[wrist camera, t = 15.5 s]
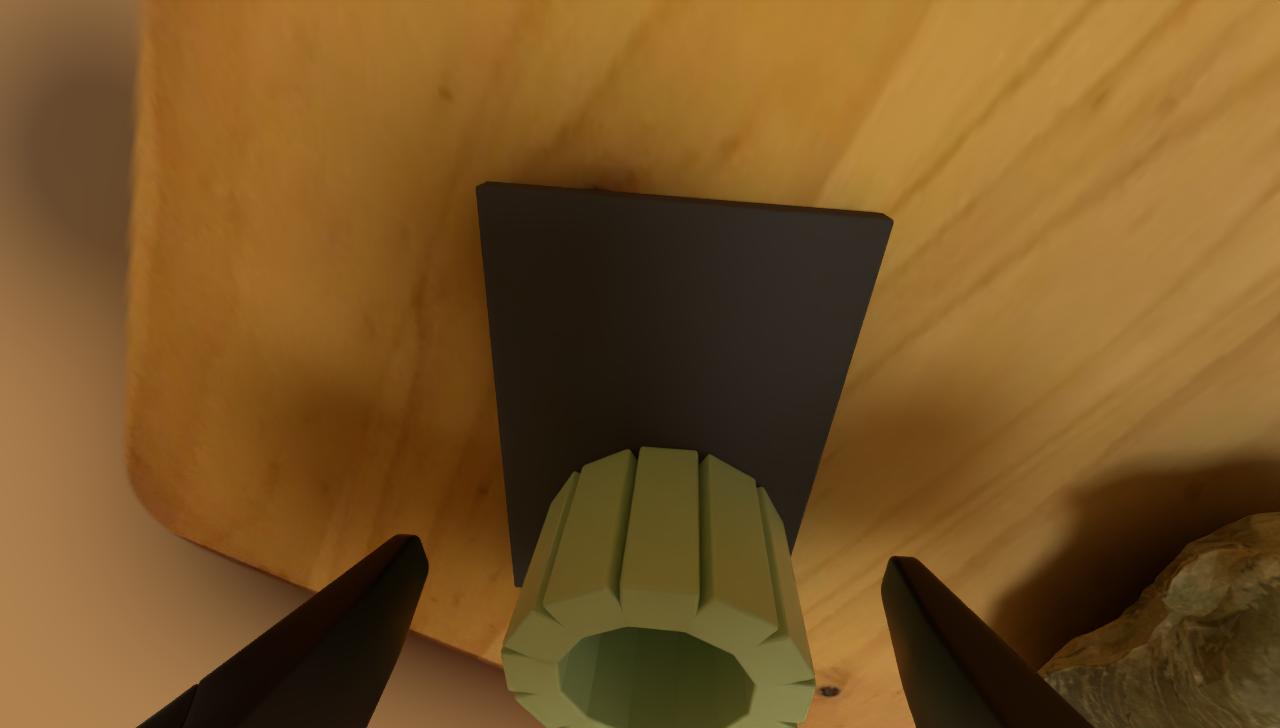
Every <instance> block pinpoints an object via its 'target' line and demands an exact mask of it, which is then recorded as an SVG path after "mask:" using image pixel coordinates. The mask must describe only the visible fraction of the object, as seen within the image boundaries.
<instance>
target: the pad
mask: <svg viewBox="0 0 1280 728" xmlns="http://www.w3.org/2000/svg"><path fill="white" fill-rule="evenodd" d="M476 195H477V206H478V216H479V226H480V236H481V246H482V257H483V267H484V277H485V287H486V297H487V307H488V318H489V328H490V338H491V348H492V358H493V369H494V379H495V389H496V399H497V409H498V420H499V430H500V440H501V450H502V460H503V471H504V481H505V491H506V501H507V511H508V522H509V532H510V542H511V552H512V562H513V573H514V583H515V586H516V587H521V588H522V586H523V583H524V580H525V577H526V575H527V572H528V569H529V566H530V563H531V560H532V557H533V554H534V551H535V548H536V545H537V543H538V540H539V537H540V534H541V531H542V528H543V525H544V522H545V519H546V516H547V514H548V511H549V508H550V505H551V503H552V501H553V500H554V498H555V497H556V496H557V494H558V493H559V491H560V490H561V489H562V487H563V486H564V485H565V483H566V482H567V480H568V479H569V478H570V476H571V475H572V474H573V472H575V471H576V472H578V473H580V474H581V470H582V467H583V466H585V465H586V464H589V463H592V462H594V461H597V460H600V459H602V458H605V457H607V456H610V455H613V454H615V453H618V452H620V451H623V450H626V449H630V450H631V451H632V453H633V454H634V456H635V457H636V459H637V460H638V458H639V451H640V448H641V447H643V446H644V447H658V448H671V449H684V450H695V451H697V452H698V465H699V464H700V463H701V462H702V461H703V460H704V459H705V457H706V456H707V455H708V454H711V455H713V456H714V457H716V458H718V459H720V460H722V461H723V462H725V463H727V464H729V465H731V466H732V467H734V468H736V469H738V470H740V471H741V472H743V473H745V474H747V475H749V476H751V477H752V478H754V479H755V481H756V488H758V487H763V488H764V489H765V491H766V493H767V494H768V496H769V498H770V500H771V502H772V503H773V505H774V507H775V509H776V511H777V512H778V514H779V516H780V518H781V520H782V521H783V524H784V529H785V534H786V538H787V543H788V548H789V553H790V557H791V554H792V551H793V547H794V544H795V541H796V538H797V534H798V531H799V528H800V525H801V521H802V518H803V515H804V512H805V508H806V505H807V502H808V499H809V496H810V492H811V489H812V486H813V483H814V479H815V476H816V473H817V470H818V466H819V463H820V460H821V457H822V453H823V450H824V447H825V444H826V440H827V437H828V434H829V431H830V427H831V424H832V421H833V418H834V414H835V411H836V408H837V405H838V401H839V398H840V395H841V392H842V389H843V385H844V382H845V379H846V376H847V372H848V369H849V366H850V363H851V359H852V356H853V353H854V350H855V346H856V343H857V340H858V337H859V333H860V330H861V327H862V324H863V320H864V317H865V314H866V311H867V307H868V304H869V301H870V298H871V294H872V291H873V288H874V285H875V282H876V278H877V275H878V272H879V269H880V265H881V262H882V259H883V256H884V252H885V249H886V246H887V243H888V239H889V236H890V233H891V230H892V226H893V220H892V219H891V218H889V217H888V216H886V215H885V214H883V213H872V212H859V211H847V210H835V209H822V208H810V207H798V206H785V205H773V204H760V203H748V202H736V201H723V200H711V199H699V198H686V197H674V196H662V195H649V194H637V193H624V192H612V191H600V190H587V189H575V188H563V187H550V186H538V185H525V184H513V183H501V182H488V181H487V182H485V183H483V184H480V185H478V186H477V187H476Z"/></svg>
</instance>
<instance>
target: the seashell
mask: <svg viewBox="0 0 1280 728" xmlns="http://www.w3.org/2000/svg"><path fill="white" fill-rule="evenodd" d="M1037 673H1038V674H1039V675H1040V676H1041V677H1042V678H1043V679H1044V680H1045V681H1046V682H1047V683H1048V684H1049V685H1050V686H1051V687H1052V688H1054V689H1055V690H1056V691H1057V692H1058V693H1059V694H1060V695H1061V696H1062V697H1063V698H1064V699H1065V700H1066V701H1067V702H1068V703H1069V704H1070V705H1071V706H1072V707H1073V708H1075V709H1076V710H1077V711H1078V712H1079V713H1080V714H1081V715H1082V716H1083V717H1084V718H1085V719H1086V720H1087V721H1088V722H1089V723H1090V724H1091V725H1092V726H1093V727H1094V728H1280V512H1276V513H1257V514H1251V515H1249V516H1247V517H1244V518H1242V519H1239V520H1237V521H1235V522H1232V523H1229V524H1226V525H1224V526H1222V527H1221V528H1219V529H1217V530H1216V531H1214V532H1213V533H1211V534H1209V535H1207V536H1205V537H1202V538H1200V539H1197V540H1195V541H1193V542H1190V543H1188V544H1187V545H1186V546H1185V548H1184V549H1183V550H1182V551H1181V552H1180V554H1179V555H1178V556H1177V557H1176V558H1175V559H1174V561H1173V562H1172V563H1170V564H1169V565H1168V566H1167V567H1166V568H1165V569H1164V570H1163V571H1162V572H1161V573H1160V574H1159V575H1158V576H1157V577H1156V578H1155V582H1154V583H1153V584H1151V585H1150V586H1148V587H1147V588H1145V589H1144V590H1143V592H1142V593H1141V595H1140V597H1139V599H1138V600H1137V601H1136V602H1135V604H1134V605H1132V606H1130V607H1128V608H1126V609H1125V611H1124V612H1123V613H1122V615H1121V616H1120V617H1119V618H1118V619H1116V620H1114V621H1113V622H1111V623H1109V624H1107V625H1104V626H1102V627H1100V628H1098V629H1096V630H1094V631H1092V632H1090V633H1088V634H1084V635H1081V636H1078V637H1075V638H1074V639H1072V640H1071V641H1069V642H1068V643H1067V644H1066V645H1065V646H1064V647H1063V648H1062V649H1061V650H1059V651H1058V652H1057V653H1056V654H1055V655H1054V656H1053V657H1052V658H1051V659H1050V660H1049V661H1048V662H1047V663H1046V664H1045V665H1044V666H1043V667H1041V668H1040V669H1039V670H1038V671H1037Z"/></svg>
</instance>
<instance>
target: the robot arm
mask: <svg viewBox="0 0 1280 728" xmlns="http://www.w3.org/2000/svg"><path fill="white" fill-rule="evenodd" d="M428 570H429V563H428V559H427V557H426V554H425V551H424V548H423V546H422V543H421V540H420V538H419V537H418V536H417V535H410V534H398V535H395V536H393V537H392V538H390V539H389V540H388V541H386V542H385V543H384V544H382V545H381V546H380V547H378V548H377V549H376V550H374V551H373V552H372V553H370V554H369V555H368V556H366V557H365V558H364V559H362V560H361V561H360V562H358V563H357V564H356V565H354V566H353V567H352V568H350V569H349V570H348V571H346V572H345V573H344V574H342V575H341V576H340V577H338V578H337V579H336V580H334V581H333V582H332V583H330V584H329V585H328V586H326V587H325V588H324V589H322V590H321V591H320V592H318V593H317V594H316V595H314V596H313V597H312V598H310V599H309V600H307V601H306V602H305V603H303V604H302V605H301V606H299V607H298V608H297V609H296V610H294V611H293V612H291V613H290V614H289V615H287V616H286V617H285V618H284V619H282V620H281V621H279V622H278V623H277V624H275V625H274V626H273V627H271V628H270V629H269V630H267V631H266V632H265V633H263V634H262V635H261V636H259V637H258V638H257V639H255V640H254V641H253V642H251V643H250V644H249V645H247V646H246V647H245V648H243V649H242V650H241V651H239V652H238V653H237V654H235V655H234V656H233V657H231V658H230V659H229V660H227V661H226V662H225V663H223V664H222V665H221V666H219V667H218V668H216V669H215V670H214V671H213V672H212V673H210V674H208V675H207V676H206V677H204V678H203V679H202V680H201V681H200V683H199V684H195V685H193V686H192V687H191V688H190V689H188V690H187V691H185V692H184V693H183V694H181V695H180V696H179V697H177V698H176V699H175V700H174V701H172V702H171V703H169V704H168V705H167V706H165V707H164V708H163V709H161V710H160V711H158V712H157V713H156V714H154V715H153V716H151V717H150V718H149V719H147V720H146V721H145V722H143V723H142V724H140V725H139V726H138V727H136V728H367V726H368V724H369V721H370V719H371V717H372V715H373V713H374V710H375V708H376V706H377V704H378V702H379V699H380V697H381V695H382V693H383V690H384V688H385V686H386V684H387V682H388V680H389V677H390V675H391V673H392V671H393V669H394V666H395V664H396V662H397V659H398V657H399V655H400V652H401V650H402V647H403V645H404V642H405V639H406V636H407V633H408V630H409V628H410V625H411V622H412V619H413V616H414V613H415V610H416V607H417V604H418V601H419V598H420V596H421V593H422V590H423V587H424V584H425V581H426V578H427V575H428ZM881 596H882V601H883V605H884V610H885V614H886V618H887V623H888V627H889V631H890V635H891V640H892V644H893V648H894V652H895V657H896V661H897V665H898V670H899V674H900V678H901V682H902V685H903V689H904V692H905V695H906V698H907V702H908V705H909V708H910V710H911V713H912V716H913V719H914V722H915V725H916V728H1094V727H1093V726H1092V725H1091V724H1090V723H1089V722H1088V721H1087V720H1086V719H1085V718H1084V717H1083V716H1082V715H1081V714H1080V713H1079V712H1078V711H1077V710H1076V709H1075V708H1073V707H1072V706H1071V705H1070V704H1069V703H1068V702H1067V701H1066V700H1065V699H1064V698H1063V697H1062V696H1061V695H1060V694H1059V693H1058V692H1057V691H1056V690H1055V689H1054V688H1052V687H1051V686H1050V685H1049V684H1048V683H1047V682H1046V681H1045V680H1044V679H1043V678H1042V677H1041V676H1040V675H1039V674H1038V673H1037V672H1036V671H1035V670H1034V669H1033V668H1031V667H1030V666H1029V665H1028V664H1027V663H1026V662H1025V661H1024V660H1023V659H1022V658H1021V657H1020V656H1019V655H1018V654H1017V653H1016V652H1015V651H1014V650H1013V649H1012V648H1010V647H1009V646H1008V645H1007V644H1006V643H1005V642H1004V641H1003V640H1002V639H1001V638H1000V637H999V636H998V635H997V634H996V633H995V632H994V631H993V630H992V629H991V628H989V627H988V626H987V625H986V624H985V623H984V622H983V621H982V620H981V619H980V618H979V617H978V616H977V615H976V614H975V613H974V612H973V611H972V610H971V609H970V608H968V607H967V606H966V605H965V604H964V603H963V602H962V601H961V600H960V599H959V598H958V597H957V596H956V595H955V594H954V593H953V592H952V591H951V590H950V589H949V588H947V587H946V586H945V585H944V584H943V583H942V582H941V581H940V580H939V579H938V578H937V577H936V576H935V575H934V574H933V573H932V572H931V571H930V570H929V569H928V568H926V567H925V566H924V565H923V564H922V563H921V562H920V561H919V560H918V559H916V558H914V557H905V556H892V557H891V558H890V559H889V561H888V564H887V568H886V571H885V575H884V578H883V581H882V586H881Z"/></svg>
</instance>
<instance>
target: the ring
mask: <svg viewBox="0 0 1280 728" xmlns="http://www.w3.org/2000/svg"><path fill="white" fill-rule="evenodd" d="M501 657H502V662H503V667H504V672H505V677H506V681H507V686H508V690H510V691H515V700H516V701H518V702H519V703H520V704H521V705H522V706H523V707H524V708H525V709H526V710H527V711H529V712H530V713H531V714H532V715H533V716H534V717H535V718H536V719H537V720H538V721H540V722H541V723H542V724H543V725H544V726H545V727H546V728H557V727H559V728H797V723H799V724H802V723H804V721H805V718H806V715H807V712H808V709H809V706H810V704H811V701H812V698H813V695H814V692H815V689H816V682H815V678H814V675H815V673H814V669H813V664H812V659H811V654H810V649H809V645H808V640H807V635H806V630H805V625H804V620H803V616H802V611H801V606H800V601H799V596H798V591H797V587H796V582H795V577H794V572H793V567H792V563H791V558H790V553H789V548H788V543H787V538H786V534H785V529H784V524H783V521H782V520H781V518H780V516H779V514H778V512H777V511H776V509H775V507H774V505H773V503H772V502H771V500H770V498H769V496H768V494H767V493H766V491H765V489H764V488H763V487H758V488H756V481H755V479H754V478H752V477H751V476H749V475H747V474H745V473H743V472H741V471H740V470H738V469H736V468H734V467H732V466H731V465H729V464H727V463H725V462H723V461H722V460H720V459H718V458H716V457H714V456H713V455H711V454H708V455H707V456H706V457H705V459H704V460H703V461H702V462H701V463H700V464H699V465H698V452H697V451H695V450H684V449H671V448H658V447H644V446H643V447H641V448H640V451H639V458H638V460H637V459H636V457H635V456H634V454H633V453H632V451H631V450H630V449H626V450H623V451H620V452H618V453H615V454H613V455H610V456H607V457H605V458H602V459H600V460H597V461H594V462H592V463H589V464H586V465H585V466H583V467H582V470H581V474H580V473H578V472H576V471H575V472H573V474H572V475H571V476H570V478H569V479H568V480H567V482H566V483H565V485H564V486H563V487H562V489H561V490H560V491H559V493H558V494H557V496H556V497H555V498H554V500H553V501H552V503H551V505H550V508H549V511H548V514H547V516H546V519H545V522H544V525H543V528H542V531H541V534H540V537H539V540H538V543H537V545H536V548H535V551H534V554H533V557H532V560H531V563H530V566H529V569H528V572H527V575H526V577H525V580H524V583H523V586H522V589H521V592H520V595H519V598H518V601H517V604H516V606H515V609H514V612H513V615H512V618H511V621H510V624H509V627H508V630H507V633H506V635H505V638H504V641H503V647H502V650H501Z"/></svg>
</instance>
